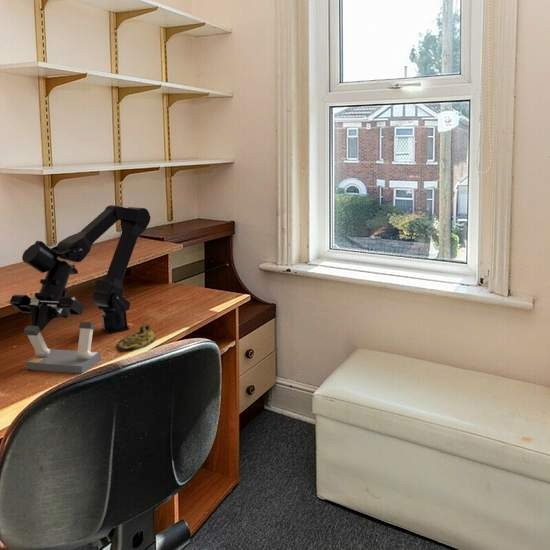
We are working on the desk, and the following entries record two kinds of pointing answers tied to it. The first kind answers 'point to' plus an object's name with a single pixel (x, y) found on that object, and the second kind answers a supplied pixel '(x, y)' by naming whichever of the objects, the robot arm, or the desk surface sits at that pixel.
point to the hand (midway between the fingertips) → (35, 334)
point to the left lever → (37, 340)
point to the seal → (137, 339)
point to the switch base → (63, 362)
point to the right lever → (85, 340)
